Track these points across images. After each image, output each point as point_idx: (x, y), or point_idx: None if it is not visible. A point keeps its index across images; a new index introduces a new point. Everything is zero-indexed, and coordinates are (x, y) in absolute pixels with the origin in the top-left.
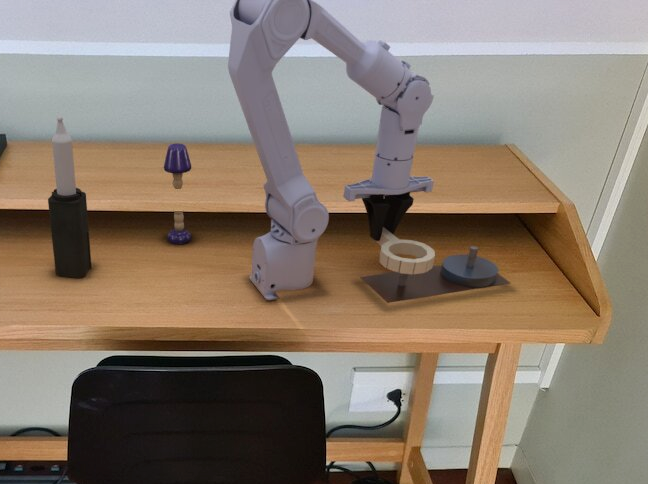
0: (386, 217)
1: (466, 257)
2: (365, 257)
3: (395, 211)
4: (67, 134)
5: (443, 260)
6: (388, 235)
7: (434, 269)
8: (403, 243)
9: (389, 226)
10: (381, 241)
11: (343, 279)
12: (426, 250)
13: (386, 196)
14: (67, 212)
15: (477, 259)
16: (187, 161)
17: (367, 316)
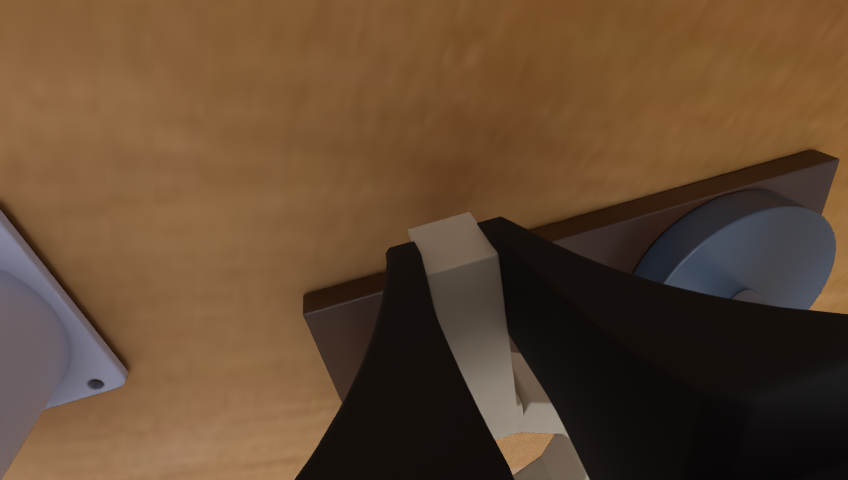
0: (540, 312)
1: (783, 236)
2: (394, 25)
3: (596, 477)
4: None
5: (683, 262)
6: (476, 373)
7: (630, 243)
8: (520, 429)
9: (521, 330)
10: None
11: (235, 262)
12: (586, 476)
13: (661, 424)
14: None
15: (805, 249)
16: None
17: (293, 466)
